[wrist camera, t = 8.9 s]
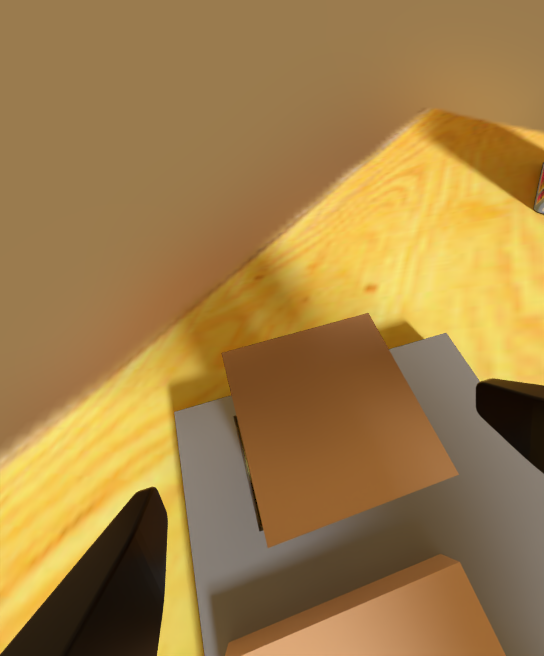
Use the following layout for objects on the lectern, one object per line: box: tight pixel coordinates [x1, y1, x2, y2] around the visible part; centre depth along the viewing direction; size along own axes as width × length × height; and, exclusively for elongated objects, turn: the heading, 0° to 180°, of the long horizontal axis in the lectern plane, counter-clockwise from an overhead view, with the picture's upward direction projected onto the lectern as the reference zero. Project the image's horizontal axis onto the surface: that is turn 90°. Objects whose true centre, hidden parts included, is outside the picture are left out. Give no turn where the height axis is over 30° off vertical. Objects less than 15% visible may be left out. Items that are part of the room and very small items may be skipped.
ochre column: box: [222, 313, 459, 548], centre depth 11 cm, size 4×4×12 cm
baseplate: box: [174, 333, 544, 656], centre depth 14 cm, size 15×18×4 cm
